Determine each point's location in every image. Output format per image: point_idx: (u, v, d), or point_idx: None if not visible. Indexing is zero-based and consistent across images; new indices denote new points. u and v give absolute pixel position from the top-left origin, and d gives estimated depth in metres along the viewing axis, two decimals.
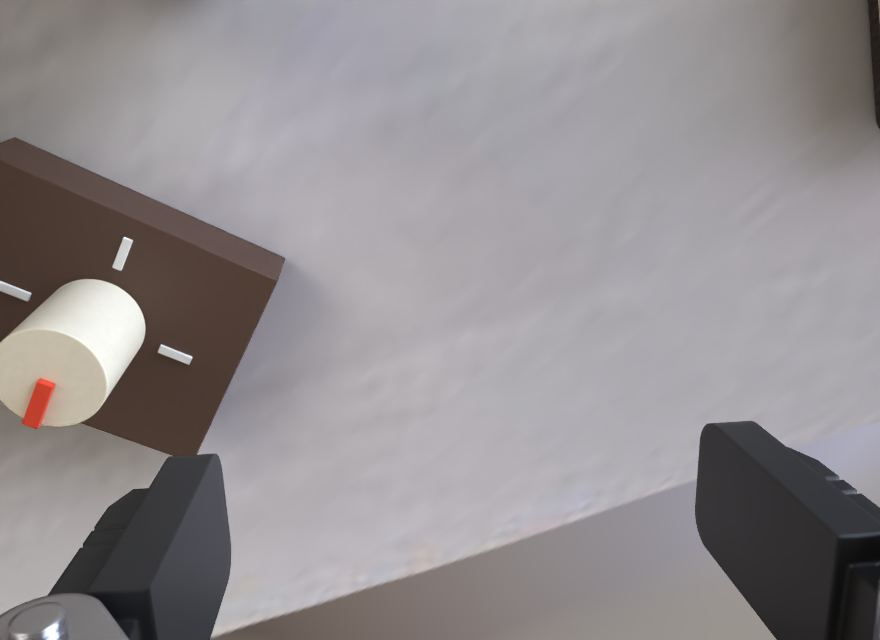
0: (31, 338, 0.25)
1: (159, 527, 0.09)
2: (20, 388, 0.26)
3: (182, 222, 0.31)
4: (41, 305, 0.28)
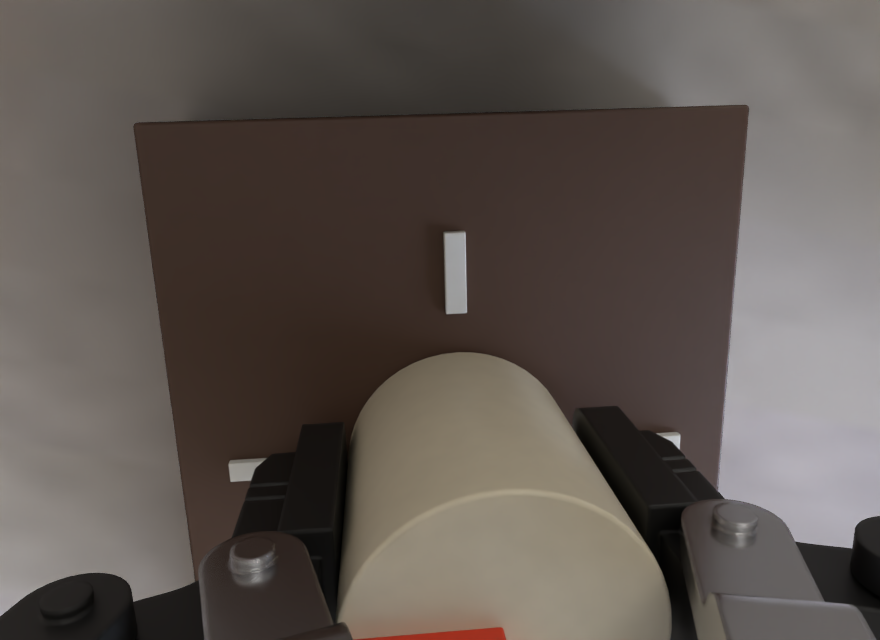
0: (621, 564, 0.08)
1: (320, 481, 0.10)
2: (440, 594, 0.08)
3: None
4: (542, 410, 0.11)
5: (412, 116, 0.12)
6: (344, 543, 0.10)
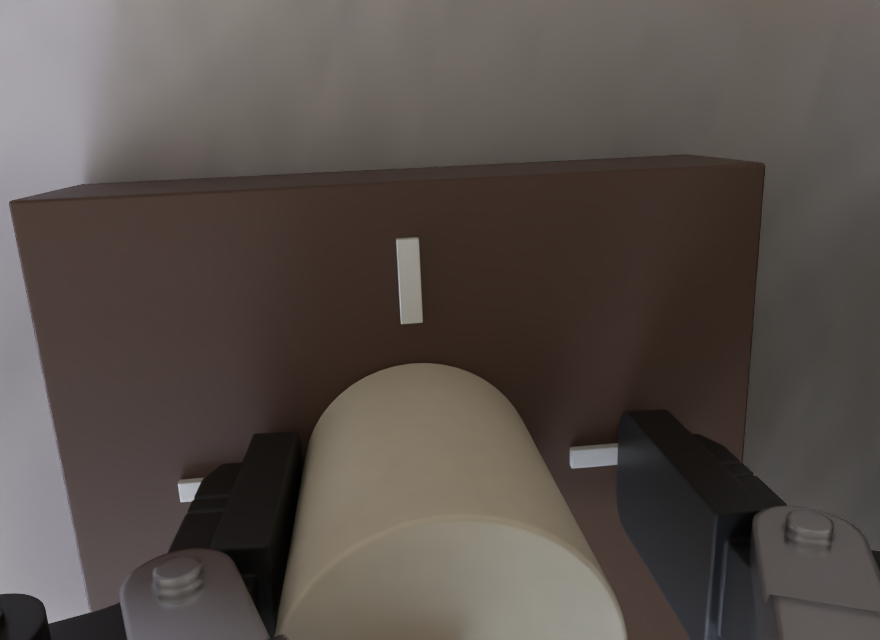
0: (570, 590, 0.08)
1: (262, 494, 0.10)
2: (378, 629, 0.08)
3: None
4: (495, 423, 0.10)
5: (746, 409, 0.13)
6: (285, 575, 0.09)
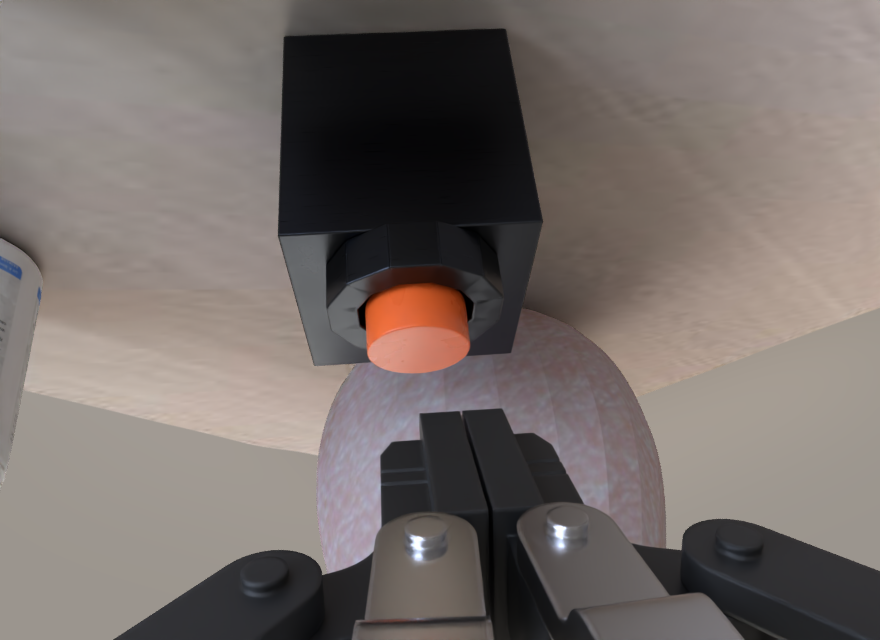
0: None
1: (459, 466, 0.10)
2: None
3: None
4: None
5: None
6: None
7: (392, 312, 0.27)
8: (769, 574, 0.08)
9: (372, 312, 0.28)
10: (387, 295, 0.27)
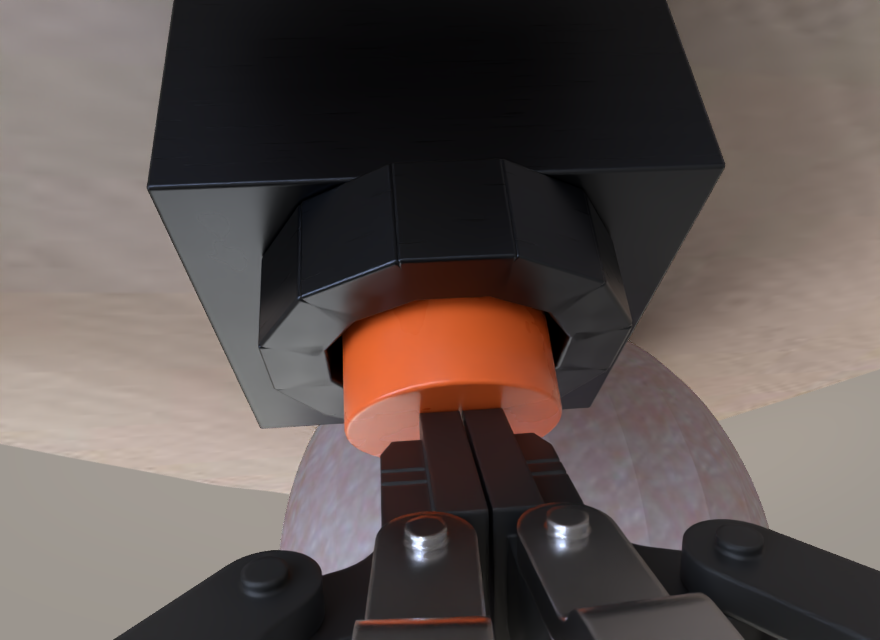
0: None
1: (459, 466, 0.10)
2: None
3: None
4: None
5: None
6: None
7: (401, 350, 0.12)
8: (769, 574, 0.08)
9: (355, 346, 0.13)
10: (388, 310, 0.13)
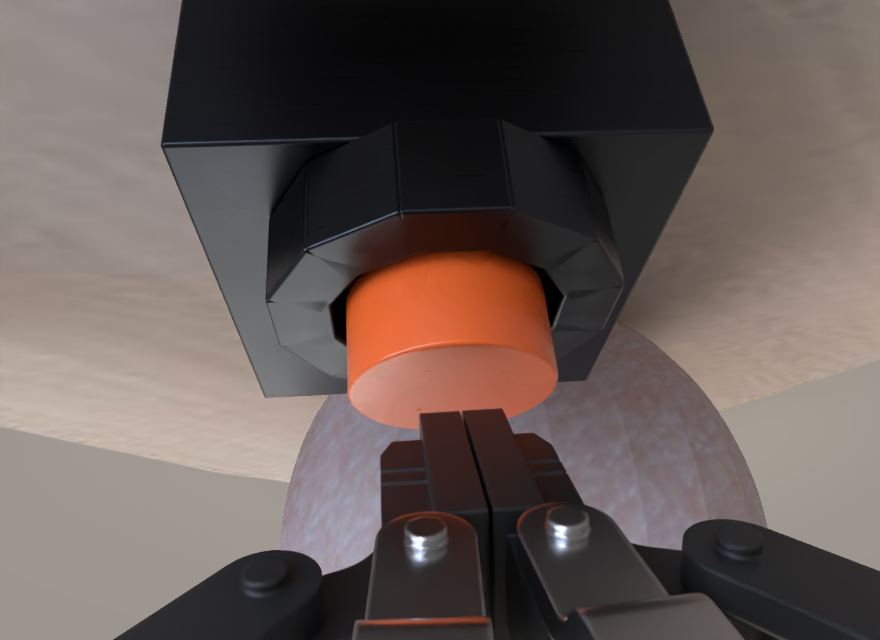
0: None
1: (459, 466, 0.10)
2: None
3: None
4: None
5: None
6: None
7: (403, 313, 0.13)
8: (769, 574, 0.08)
9: (359, 311, 0.13)
10: (390, 276, 0.13)
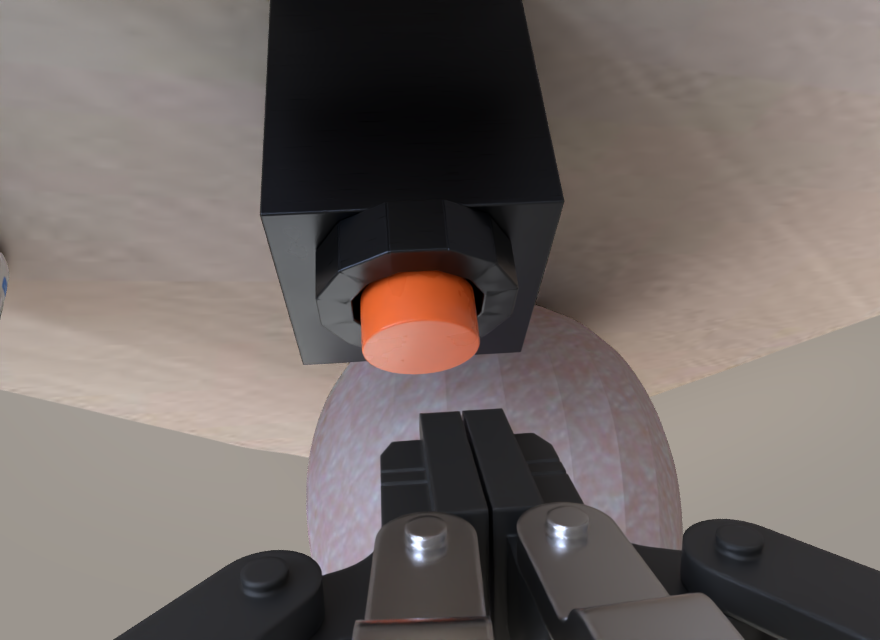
0: None
1: (459, 466, 0.10)
2: None
3: None
4: None
5: None
6: None
7: (391, 304, 0.23)
8: (769, 574, 0.08)
9: (367, 304, 0.24)
10: (385, 284, 0.24)
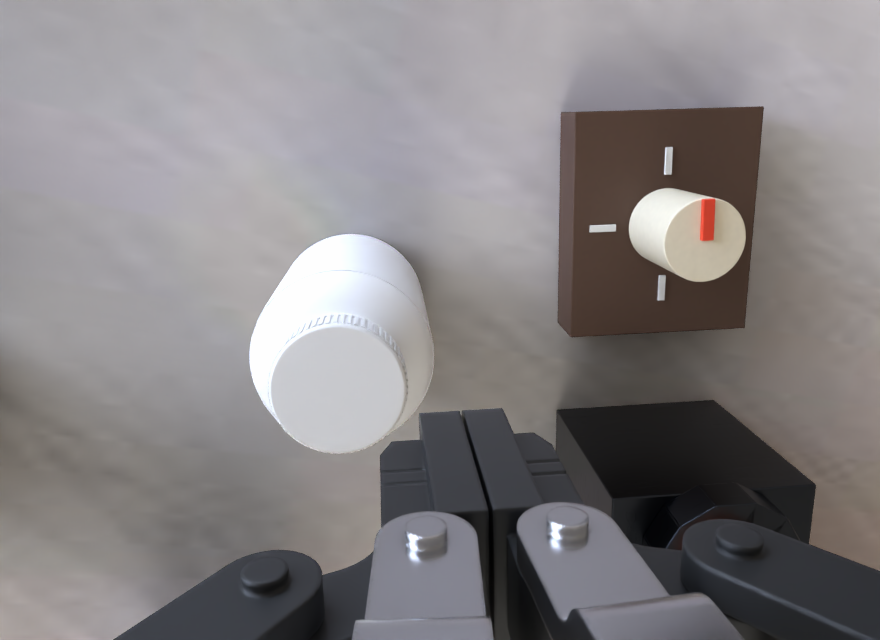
0: (723, 267, 0.35)
1: (459, 466, 0.10)
2: (721, 223, 0.34)
3: (565, 197, 0.40)
4: None
5: (669, 331, 0.41)
6: None
7: None
8: (769, 574, 0.08)
9: None
10: None
